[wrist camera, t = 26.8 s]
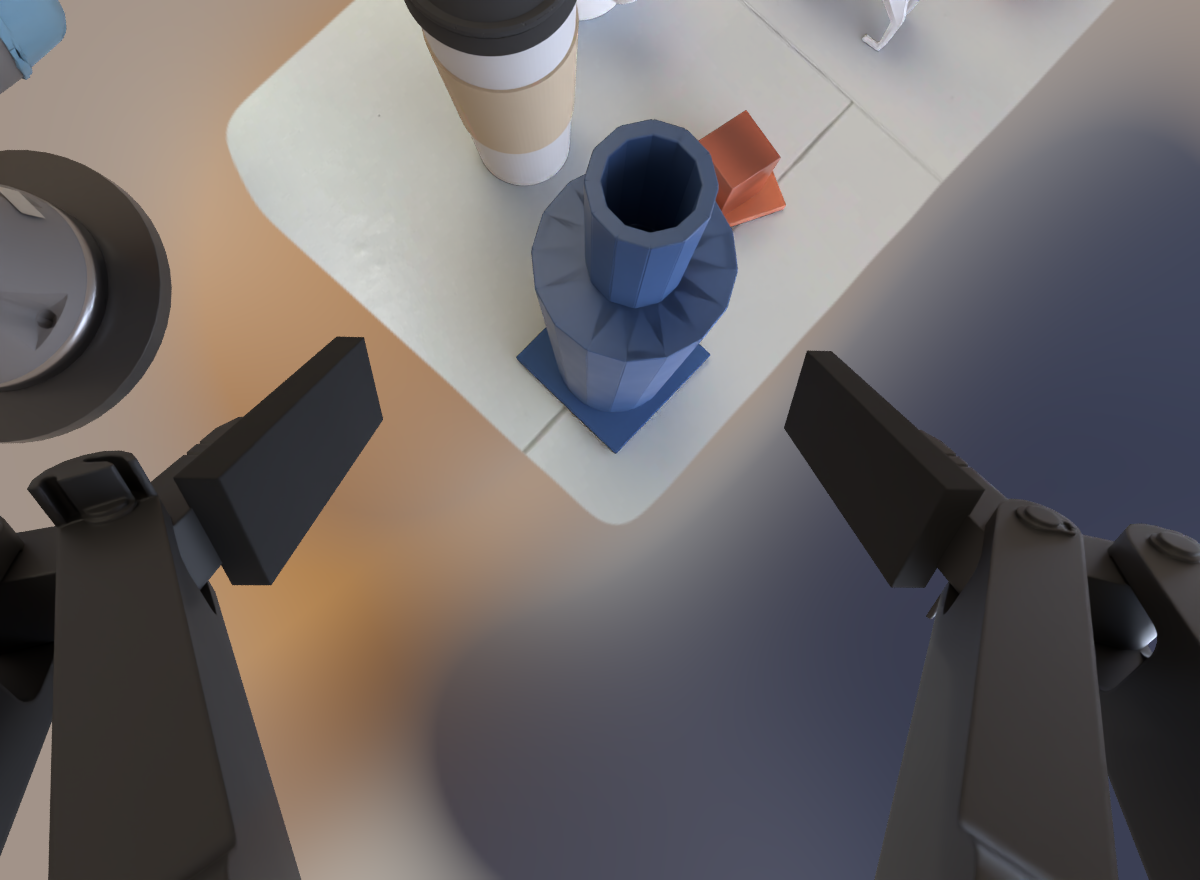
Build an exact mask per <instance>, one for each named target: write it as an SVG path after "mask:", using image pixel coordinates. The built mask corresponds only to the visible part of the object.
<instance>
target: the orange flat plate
mask: <svg viewBox="0 0 1200 880" xmlns="http://www.w3.org/2000/svg"><path fill="white" fill-rule="evenodd" d="M785 206H786V204H785V201H784V199H783V196H782V194H781V191H780V188H779V186H778V183H777V181H776V178H775V176H774V173H773V171H772V173H771V174H770V176H769V177H768V179H767V181H766V182H765V184H764V186H763V187H762V189H761V191H760V192H759V193H758V194H756V195H755V196H753V197H752V198H750V199H749V200H747V201H746V202H744V203H743V204H741V205H740V206H738V207H737V208H735V209H734V210H732V211H731V212H729V213H728V214H726V215H725V218H726V220H727V222H728V223H729V225H730V227H732V226H735V225H738V224H741V223H744V222H747V221H750V220H753V219H756V218H759V217H762V216H765V215H768V214H771V213H774V212H777V211H780V210H783V209H784V207H785Z"/></svg>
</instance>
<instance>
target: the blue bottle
mask: <svg viewBox="0 0 1200 880" xmlns="http://www.w3.org/2000/svg"><path fill="white" fill-rule="evenodd" d="M718 186H719V184H718V180H717V176H716V173H715V169H714V165H713V161H712V158H711V155H710V153H709V151H708V150H707V149H706V148H705V147H704V146H703V145H702V144H701V143H700V142H699V141H698V140H697V139H696V138H695V137H694V136H693V135H692V134H691V133H690V132H689V131H688V130H685V128H682V127H678V126H675V125H672V124H668V123H665V122H662V121H658V120H655V119H654V120H652V119H650V120H645V121H640V122H636V123H631V124H626V125H622V126H620V127H617V128H616V129H615V130H614V131H613V132H612V133H611V134H610V135H608V136H607V137H606V138H605V139H604V140H603V141H602V142H601V143H600V144H598V145H597V146H596V147H595V149H594V150H593V152H592V155H591V158H590V161H589V165H588V168H587V171H586V174H584V175H582V176H580V177H578V178H576V179H574V180H573V181H571V182H569V183H568V184H567V185H566V186H565V188H564V189H563V190H562V191H561V192H560V193H559V195H558V196H557V197H556V198H555V199H554V200H553V202H552V203H551V204H550V205H549V206H548V207H547V209H546V210H545V211H544V213H543V214H542V218H541V221H540V224H539V227H538V230H537V233H536V237H535V240H534V243H533V246H532V251H531V254H532V264H533V274H534V284H535V290H536V294H537V297H538V300H539V304H540V307H541V311H542V314H543V317H544V321H545V324H546V328H547V331H548V334H549V338H550V341H551V345H552V348H553V351H554V355H555V358H556V362H557V365H558V368H559V372H560V374H561V376H562V378H563V380H564V382H565V384H566V385H567V387H568V389H569V391H570V392H571V393H572V394H573V395H574V396H575V397H576V398H577V399H579V400H580V401H581V402H583V403H584V404H586V405H588V406H590V407H591V408H594V409H597V410H600V411H605V412H623V411H628V410H631V409H634V408H637V407H639V406H641V405H643V404H644V403H646V402H647V401H649V400H651V399H652V398H653V397H654V396H655V394H656V393H657V392H658V391H659V390H660V388H661V387H662V386H663V385H664V384H665V383H666V381H667V380H668V379H669V378H670V377H671V376H672V374H673V373H674V372H675V371H676V370H677V369H678V367H679V366H680V365H681V364H682V363H683V362H684V360H685V359H686V358H687V357H688V356H689V354H690V353H691V352H692V351H693V350H694V349H695V347H696V346H697V345H698V344H699V343H700V342H701V340H702V339H703V338H704V337H705V336H706V334H707V333H708V332H709V331H710V329H711V328H712V327H713V326H714V324H715V323H716V322H717V321H718V319H719V318H720V317H721V316H722V315H723V313H724V312H725V311H726V309H727V307H728V304H729V301H730V297H731V294H732V290H733V286H734V283H735V279H736V276H737V270H738V267H737V259H736V252H735V244H734V236H733V231H732V229H731V227H730V225H729V223H728V222H727V220H726V218H725V216H724V215H723V213H722V211H721V210H720V208H719V206H718V204H717V203H716V201H715V200H716V196H717V193H718V190H719V187H718Z"/></svg>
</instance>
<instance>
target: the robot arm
mask: <svg viewBox="0 0 1200 880" xmlns="http://www.w3.org/2000/svg"><path fill="white" fill-rule="evenodd" d="M65 33H66V20H65V13H64V11H63V9H62V7H61V5H60V2H59V1H58V0H0V94H1V93H2V92H4V91H5V90H6V89H8V88H9V87H11V86H12V85H13V84H14V83H16V82H17V81H19V80H20V79H21V78H23V79H25V80H27V79H28V78H30V75H31V74H32V66H33V65H35V64H36V63H37V62H38V61H39V60H40V59H41V58H43V57H44V56H45V55H46V54H47V53H48V52H49V51H50V50H51V49H53V48H54V47H55V46H56V45H57V44H58V43H59V42H60V41H62V39H63V38H64V35H65ZM107 299H108V277H107V270H106V266H105V262H104V259H103V256H102V253H101V251H100V249H99V247H98V245H97V243H96V241H95V240H94V238H93V237H92V235H91V234H90V233H89V231H88V230H87V229H86V228H85V227H84V226H83V225H82V224H81V223H80V222H79V221H78V220H77V219H75V218H74V217H73V216H72V215H70V214H69V213H67V212H66V211H64V210H62V209H60V208H58V207H57V206H55V205H53V204H51V203H49V202H47V201H45V200H43V199H41V198H39V197H37V196H35V195H32V194H30V193H27V192H25V191H21V190H18V189H15V188H12V187H9V186H5V185H1V184H0V391H12V390H18V389H23V388H27V387H30V386H34V385H36V384H39V383H42V382H44V381H46V380H48V379H50V378H52V377H54V376H55V375H57V374H59V373H60V372H62V371H63V370H64V369H66V368H67V367H68V366H70V365H71V364H72V363H73V362H74V361H75V360H76V359H77V358H78V357H79V356H80V355H81V354H82V353H83V352H84V351H85V349H86V348H87V347H88V346H89V344H90V343H91V341H92V340H93V338H94V336H95V335H96V333H97V331H98V329H99V327H100V324H101V322H102V319H103V316H104V313H105V309H106V304H107ZM382 420H383V417H382V413H381V409H380V404H379V400H378V396H377V391H376V387H375V383H374V379H373V374H372V370H371V366H370V362H369V357H368V353H367V349H366V344H365V341H364V337H336V338H335V339H333V340H332V341H331V342H330V343H329V344H328V345H326V346H325V347H324V348H323V349H322V350H321V351H319V352H318V353H317V354H316V355H315V356H314V357H312V358H311V359H310V360H309V361H308V362H307V363H305V364H304V365H303V366H302V367H301V368H300V369H298V370H297V371H296V372H295V373H294V374H293V375H291V376H290V377H289V378H288V379H287V380H286V381H285V382H283V383H282V384H281V385H280V386H279V387H278V388H276V389H275V390H274V391H273V392H272V393H271V394H269V395H268V396H267V397H266V398H265V399H264V400H262V401H261V402H260V403H259V404H258V405H257V406H255V407H254V408H253V409H252V410H251V411H250V412H248V413H247V414H246V415H245V416H244V417H238V418H236V419H234V420H232V421H230V422H228V423H226V424H224V425H222V426H219V427H217V428H216V429H215V430H213V431H212V432H211V433H210V434H208V435H207V436H206V437H205V438H204V439H202V440H201V441H200V444H196V445H195V446H194V447H193V448H191V449H190V450H189V451H188V452H187V455H183V456H182V457H181V458H179V459H178V460H177V461H176V462H174V463H173V464H172V465H171V466H170V467H169V468H167V469H166V470H165V471H164V472H162V473H161V474H160V475H159V476H158V477H156V478H155V479H154V480H153V481H152V482H150V481H149V479H148V477H147V476H146V474H145V472H144V470H143V469H142V467H141V466H140V464H139V462H138V460H137V459H136V458H135V456H134V455H133V454H132V453H129V452H124V451H103V452H97V453H92V454H87V455H83V456H80V457H76V458H73V459H70V460H67V461H64V462H62V463H60V464H58V465H56V466H54V467H52V468H49V469H47V470H45V471H44V472H43V473H41V474H40V475H39V476H37V477H36V478H34V479H33V480H32V482H31V483H30V485H29V487H28V488H27V490H28V491H29V492H30V493H31V495H32V496H33V497H34V498H35V500H36V501H37V502H38V504H39V505H40V506H41V508H42V509H43V510H44V511H45V513H46V514H47V515H48V517H49V518H50V519H51V520H52V522H53V523H54V524H55V526H54V527H48V528H42V529H37V530H31V531H25V532H19V533H15V531H14V530H13V529H12V528H11V527H10V525H9V524H8V523H7V522H6V521H5V519H3V518H2V517H1V516H0V855H1V853H2V850H3V848H4V845H5V842H6V840H7V837H8V835H9V832H10V829H11V827H12V824H13V821H14V819H15V816H16V813H17V811H18V808H19V806H20V803H21V801H22V798H23V795H24V793H25V790H26V787H27V785H28V782H29V780H30V777H31V774H32V772H33V769H34V767H35V764H36V761H37V759H38V756H39V754H40V751H41V748H42V746H43V743H44V740H45V738H46V735H47V732H48V730H49V727H50V724H51V722H52V754H51V755H52V757H51V794H50V795H51V796H50V834H49V874H48V875H49V877H48V880H301V878H300V874H299V871H298V867H297V864H296V861H295V857H294V854H293V851H292V847H291V844H290V841H289V837H288V834H287V831H286V827H285V824H284V821H283V817H282V814H281V810H280V807H279V804H278V800H277V797H276V794H275V790H274V787H273V784H272V780H271V777H270V774H269V770H268V767H267V764H266V760H265V757H264V754H263V750H262V747H261V743H260V740H259V737H258V734H257V730H256V727H255V723H254V720H253V717H252V713H251V710H250V707H249V703H248V700H247V697H246V693H245V690H244V687H243V683H242V680H241V677H240V673H239V670H238V666H237V663H236V660H235V657H234V653H233V650H232V646H231V643H230V640H229V637H228V633H227V630H226V626H225V623H224V620H223V616H222V613H221V610H220V606H219V603H218V600H217V596H216V593H215V591H214V589H213V587H212V586H211V584H210V582H209V581H208V580H209V579H210V578H211V576H212V575H213V574H214V573H215V571H216V570H217V569H218V568H219V567H220V565H221V566H222V567H223V569H224V571H225V573H226V575H227V576H228V578H229V580H230V582H231V584H232V585H272V583H273V582H274V580H275V579H276V577H277V576H278V574H279V573H280V571H281V569H282V568H283V567H284V565H285V564H286V562H287V561H288V559H289V558H290V557H291V555H292V554H293V552H294V551H295V549H296V548H297V546H298V545H299V543H300V542H301V540H302V539H303V537H304V536H305V534H306V533H307V531H308V530H309V528H310V527H311V526H312V524H313V523H314V521H315V520H316V518H317V517H318V515H319V514H320V512H321V511H322V509H323V507H324V506H325V505H326V503H327V502H328V500H329V499H330V497H331V496H332V494H333V493H334V491H335V490H336V488H337V487H338V486H339V484H340V483H341V481H342V480H343V478H344V477H345V475H346V474H347V472H348V471H349V469H350V468H351V466H352V465H353V463H354V462H355V460H356V459H357V457H358V456H359V454H360V453H361V451H362V450H363V449H364V447H365V445H366V444H367V443H368V441H369V440H370V438H371V437H372V435H373V434H374V432H375V430H376V429H377V428H378V426H379V425H380V423H381V422H382ZM784 429H785V430H786V432H787V433H788V435H789V436H790V438H791V439H792V441H793V442H794V444H795V445H796V447H797V448H798V449H799V451H800V452H801V454H802V455H803V457H804V458H805V460H806V461H807V463H808V464H809V466H810V467H811V469H812V470H813V472H814V473H815V475H816V476H817V478H818V479H819V481H820V482H821V484H822V485H823V487H824V488H825V490H826V491H827V493H828V494H829V496H830V497H831V499H832V500H833V501H834V503H835V504H836V506H837V508H838V509H839V511H840V512H841V514H842V515H843V517H844V518H845V519H846V521H847V522H848V524H849V525H850V527H851V528H852V530H853V531H854V533H855V534H856V536H857V537H858V539H859V540H860V542H861V543H862V545H863V546H864V548H865V549H866V550H867V552H868V554H869V555H870V556H871V558H872V560H873V561H874V563H875V564H876V566H877V567H878V568H879V570H880V572H881V573H882V574H883V576H884V578H885V579H886V581H887V582H888V583H889V585H890V586H891V587H906V588H911V587H912V588H913V587H914V588H916V587H917V588H924V587H926V585H927V583H928V582H929V580H930V578H931V577H932V575H933V574H934V572H935V570H936V569H937V568H938V569H939V570H940V571H941V572H942V574H943V575H944V576H945V577H946V579H947V580H948V581H949V582H948V583H947V585H946V587H945V588H944V590H943V591H942V593H941V594H940V596H939V597H938V599H937V600H936V602H935V603H934V605H933V606H932V608H931V610H930V611H929V612H928V614H927V616H926V617H928V618H930V619H932V618H933V617H934V616H935V615H936V616H935V621H934V625H933V629H932V634H931V638H930V643H929V647H928V651H927V656H926V660H925V664H924V668H923V672H922V677H921V681H920V686H919V690H918V694H917V699H916V703H915V707H914V711H913V716H912V720H911V724H910V729H909V733H908V737H907V742H906V746H905V750H904V755H903V759H902V763H901V768H900V772H899V776H898V781H897V785H896V789H895V793H894V798H893V802H892V807H891V811H890V815H889V820H888V824H887V828H886V832H885V837H884V841H883V845H882V850H881V854H880V858H879V862H878V867H877V871H876V876H875V880H1118V871H1117V861H1116V852H1115V841H1114V832H1113V822H1112V813H1111V803H1110V793H1109V784H1108V776H1109V779H1110V781H1111V784H1112V786H1113V789H1114V791H1115V794H1116V797H1117V799H1118V802H1119V804H1120V807H1121V809H1122V812H1123V814H1124V817H1125V819H1126V822H1127V825H1128V827H1129V830H1130V832H1131V835H1132V837H1133V840H1134V842H1135V845H1136V848H1137V850H1138V853H1139V855H1140V858H1141V860H1142V863H1143V865H1144V868H1145V870H1146V873H1147V876H1148V878H1149V880H1200V544H1198V543H1197V541H1196V540H1194V539H1192V538H1190V537H1188V536H1186V535H1185V536H1183V534H1181V533H1179V532H1176V531H1174V530H1167V529H1164V528H1161V527H1158V526H1153V525H1147V524H1130V525H1129V526H1128V527H1127V528H1126V529H1125V530H1124V532H1123V533H1122V534H1121V535H1120V536H1119V537H1118V538H1117V539H1116V540H1115V541H1110V540H1105V539H1101V538H1096V537H1091V536H1086V535H1082V534H1081V532H1080V530H1079V528H1078V527H1077V526H1075V524H1073V523H1072V522H1071V521H1070V520H1069V519H1067V518H1066V517H1064V516H1063V515H1061V514H1059V513H1058V512H1056V511H1054V510H1052V509H1050V508H1047V507H1045V506H1043V505H1040V504H1037V503H1033V502H1030V501H1026V500H1020V499H1007V498H1006V497H1005V496H1003V495H1002V494H1001V493H1000V492H999V491H998V490H997V489H996V488H994V487H993V486H992V485H991V484H990V483H989V482H988V481H986V480H985V479H984V478H983V477H982V476H981V475H980V474H978V473H977V472H976V471H975V470H973V468H972V467H968V464H967V463H966V462H965V461H964V460H962V459H961V458H960V457H959V456H956V454H955V453H954V452H953V451H952V450H951V449H950V448H948V446H946V445H945V444H944V443H943V442H942V441H940V440H938V439H936V438H935V437H933V436H931V435H929V434H927V433H926V432H924V431H922V430H918V429H917V428H916V427H915V426H914V425H913V424H912V423H911V422H909V420H907V419H906V418H905V417H904V416H903V415H902V414H901V413H900V412H899V411H897V410H896V409H895V408H894V407H893V406H892V405H891V404H890V403H889V402H887V401H886V400H885V399H884V398H883V397H882V396H881V395H879V394H878V393H877V392H876V391H875V390H874V389H873V388H872V387H871V386H870V385H868V384H867V383H866V382H865V381H864V380H863V379H862V378H861V377H860V376H858V375H857V374H856V373H855V372H854V371H853V370H852V369H851V368H850V367H848V366H847V365H846V364H845V363H844V362H843V361H842V360H841V359H840V358H838V357H837V356H836V355H835V354H834V353H833V352H831V351H807V353H806V356H805V359H804V363H803V366H802V369H801V373H800V376H799V379H798V383H797V386H796V390H795V393H794V397H793V400H792V403H791V406H790V410H789V413H788V417H787V420H786V423H785V426H784ZM1156 636H1157V644H1156V647H1155V650H1154V652H1153V653H1152V651H1151V650H1150V648H1149V646H1148V643H1150V641H1152V640H1153V639H1154V638H1155V637H1156Z"/></svg>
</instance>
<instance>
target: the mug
mask: <svg viewBox="0 0 1200 880" xmlns="http://www.w3.org/2000/svg"><path fill="white" fill-rule="evenodd" d="M634 1H636V0H577V1H576V3H577V8H578V16H579V21H581V20H589V19H593V18H596V17H599V16H601V15H603V14H605V13H606V12H608V11H609V10H610V9H612V8H613V7H614V6H615V5H616V4H617V3H618V4H628V3H631V2H634Z"/></svg>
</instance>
